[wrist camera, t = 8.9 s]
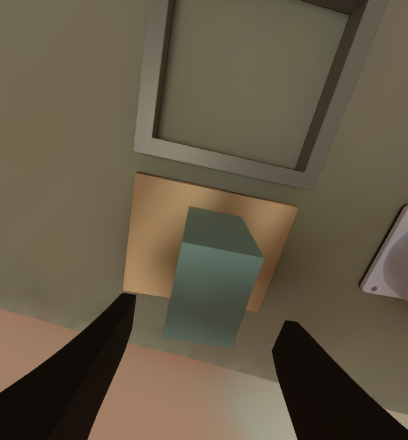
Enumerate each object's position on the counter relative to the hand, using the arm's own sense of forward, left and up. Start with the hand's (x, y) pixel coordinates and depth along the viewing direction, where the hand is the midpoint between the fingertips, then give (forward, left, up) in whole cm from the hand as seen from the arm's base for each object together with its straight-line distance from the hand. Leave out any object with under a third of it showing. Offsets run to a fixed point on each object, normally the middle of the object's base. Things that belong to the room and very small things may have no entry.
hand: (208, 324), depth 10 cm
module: (0, 0, -7) cm, 7 cm away
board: (0, 0, -8) cm, 8 cm away
